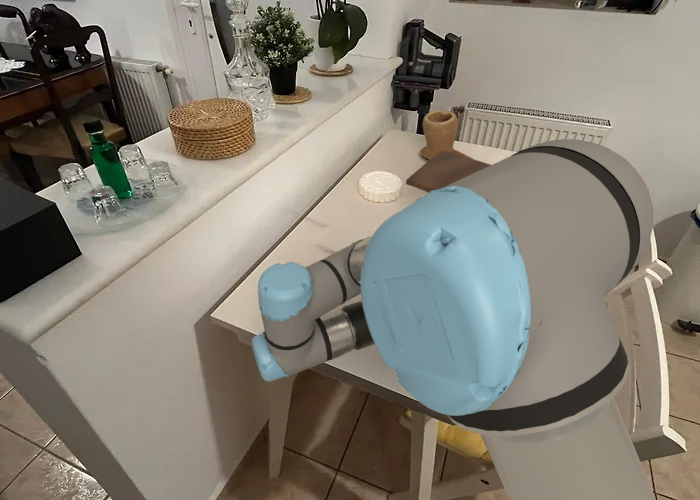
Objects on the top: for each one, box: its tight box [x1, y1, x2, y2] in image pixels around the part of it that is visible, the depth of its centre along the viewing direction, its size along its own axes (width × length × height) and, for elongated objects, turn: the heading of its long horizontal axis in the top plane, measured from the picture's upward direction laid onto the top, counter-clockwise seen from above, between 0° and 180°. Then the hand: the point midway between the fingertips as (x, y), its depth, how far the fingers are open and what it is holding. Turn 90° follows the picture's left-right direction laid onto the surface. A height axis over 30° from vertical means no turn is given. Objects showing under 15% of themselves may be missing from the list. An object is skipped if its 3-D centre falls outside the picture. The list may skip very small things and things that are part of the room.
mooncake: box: [358, 170, 403, 204], centre depth 118 cm, size 12×12×4 cm
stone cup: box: [419, 109, 474, 161], centre depth 128 cm, size 15×12×15 cm
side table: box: [405, 150, 492, 193], centre depth 102 cm, size 18×18×15 cm
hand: (461, 289), depth 79 cm, fingers closed on soda can, 7 cm apart
